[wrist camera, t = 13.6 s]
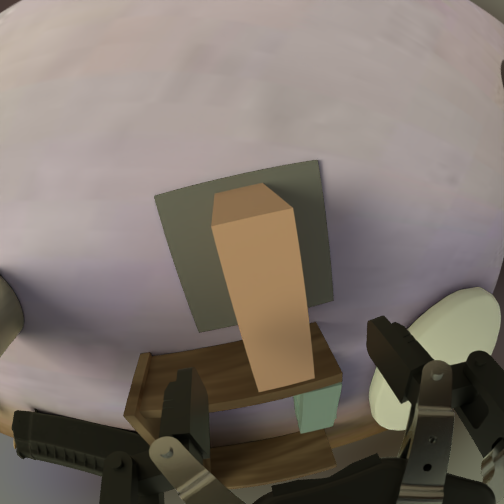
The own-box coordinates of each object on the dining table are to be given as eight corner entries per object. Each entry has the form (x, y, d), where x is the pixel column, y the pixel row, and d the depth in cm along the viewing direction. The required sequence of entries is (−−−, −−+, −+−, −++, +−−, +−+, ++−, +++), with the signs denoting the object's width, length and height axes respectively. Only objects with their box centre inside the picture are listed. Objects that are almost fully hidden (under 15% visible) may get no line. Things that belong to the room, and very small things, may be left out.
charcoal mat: (154, 195, 22) (154, 196, 22) (316, 159, 23) (317, 160, 22) (199, 330, 27) (199, 332, 27) (332, 298, 28) (333, 300, 28)
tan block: (214, 193, 22) (211, 226, 13) (262, 182, 23) (292, 208, 13) (245, 315, 27) (258, 392, 18) (285, 305, 27) (314, 378, 18)
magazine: (191, 484, 26) (5, 481, 14) (194, 491, 27) (16, 490, 16) (165, 398, 41) (14, 403, 29) (167, 409, 42) (22, 414, 30)
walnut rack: (140, 353, 28) (123, 415, 20) (315, 317, 28) (346, 376, 20) (206, 452, 37) (208, 497, 29) (322, 430, 38) (338, 473, 29)
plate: (350, 387, 27) (505, 255, 25) (333, 355, 34) (475, 243, 31) (398, 457, 34) (505, 369, 32) (386, 434, 41) (488, 353, 38)
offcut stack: (287, 362, 31) (296, 392, 26) (330, 351, 31) (344, 378, 27) (293, 413, 35) (301, 438, 30) (329, 403, 35) (339, 427, 31)
